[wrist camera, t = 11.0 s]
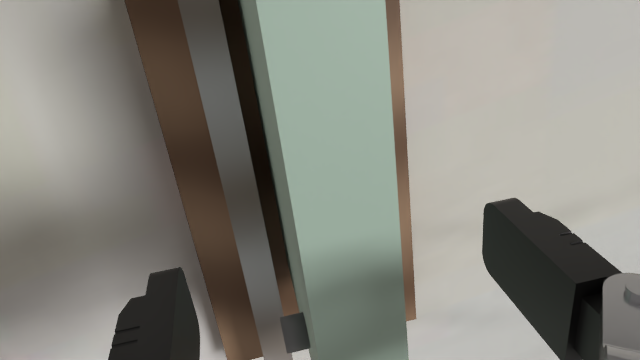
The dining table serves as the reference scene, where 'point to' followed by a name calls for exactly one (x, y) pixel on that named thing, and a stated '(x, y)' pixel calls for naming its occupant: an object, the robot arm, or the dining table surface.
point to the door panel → (332, 171)
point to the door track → (238, 163)
